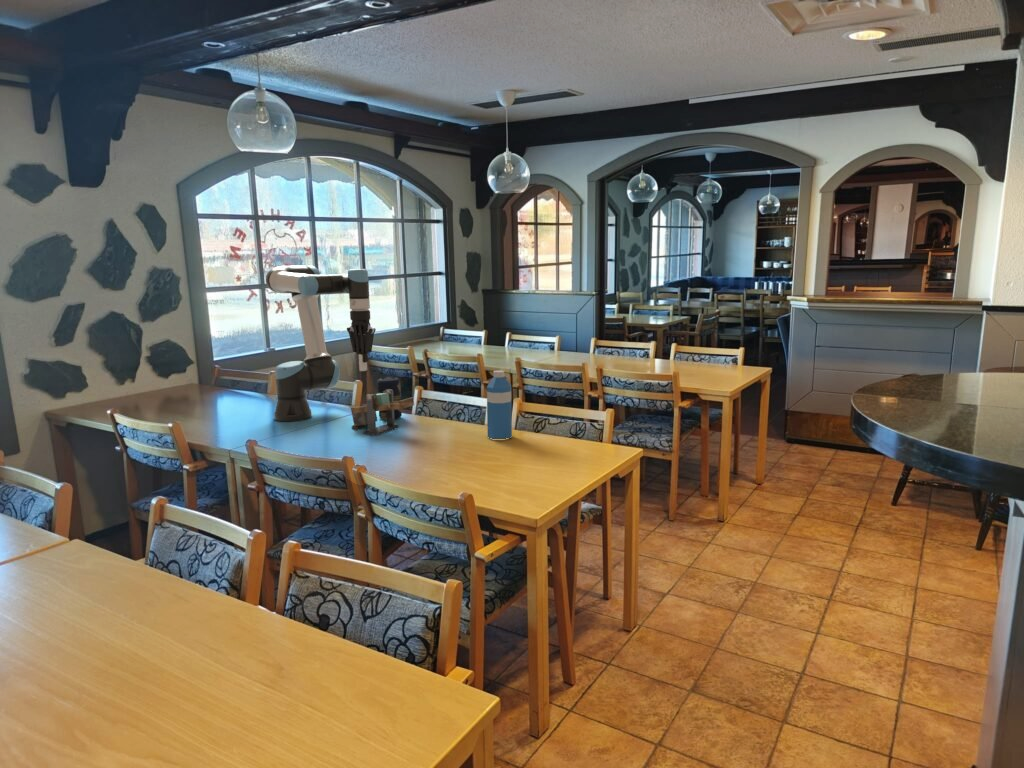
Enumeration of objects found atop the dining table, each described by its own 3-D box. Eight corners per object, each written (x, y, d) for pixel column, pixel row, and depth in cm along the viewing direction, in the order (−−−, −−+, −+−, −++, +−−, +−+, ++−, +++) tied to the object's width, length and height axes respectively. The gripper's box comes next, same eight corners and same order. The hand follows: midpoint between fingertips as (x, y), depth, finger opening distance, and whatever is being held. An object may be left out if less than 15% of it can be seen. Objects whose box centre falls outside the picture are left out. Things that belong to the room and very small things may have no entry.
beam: (352, 426, 266) (346, 397, 265) (368, 421, 274) (362, 393, 273) (403, 422, 252) (397, 391, 251) (418, 417, 260) (412, 387, 259)
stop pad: (352, 428, 268) (351, 425, 268) (364, 424, 274) (364, 422, 274) (357, 429, 266) (357, 426, 266) (369, 425, 272) (369, 422, 272)
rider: (371, 408, 263) (369, 395, 262) (378, 406, 266) (376, 393, 266) (383, 407, 260) (381, 394, 259) (390, 405, 263) (387, 392, 262)
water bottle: (482, 439, 251) (481, 372, 246) (494, 433, 259) (493, 368, 254) (504, 441, 247) (504, 374, 242) (516, 435, 255) (516, 370, 250)
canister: (399, 421, 279) (397, 378, 276) (376, 421, 279) (374, 378, 276) (403, 415, 289) (401, 374, 285) (381, 415, 289) (379, 374, 285)
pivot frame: (363, 433, 260) (361, 394, 257) (387, 425, 272) (385, 388, 269) (375, 435, 257) (373, 396, 254) (399, 427, 269) (397, 389, 266)
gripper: (340, 310, 260) (344, 370, 264) (366, 311, 253) (369, 373, 258) (354, 308, 266) (357, 368, 271) (379, 309, 260) (382, 370, 264)
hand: (363, 370), depth 264 cm, fingers closed
